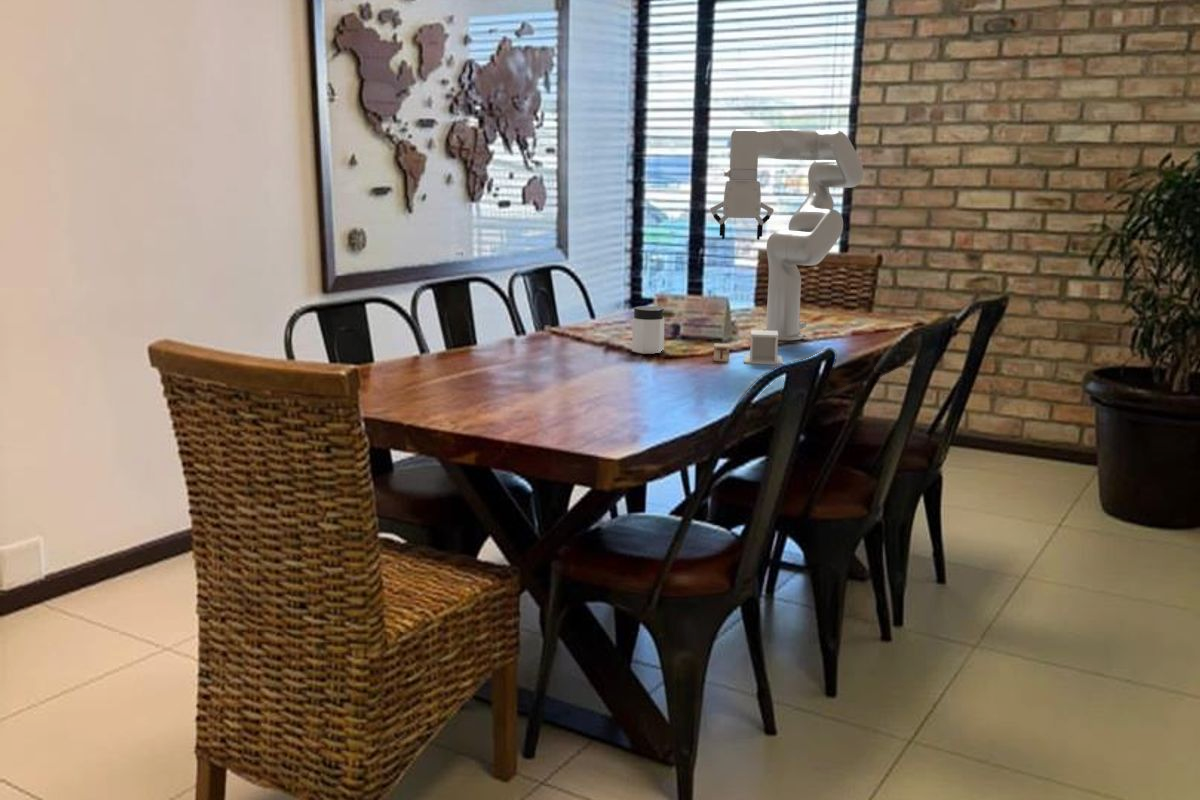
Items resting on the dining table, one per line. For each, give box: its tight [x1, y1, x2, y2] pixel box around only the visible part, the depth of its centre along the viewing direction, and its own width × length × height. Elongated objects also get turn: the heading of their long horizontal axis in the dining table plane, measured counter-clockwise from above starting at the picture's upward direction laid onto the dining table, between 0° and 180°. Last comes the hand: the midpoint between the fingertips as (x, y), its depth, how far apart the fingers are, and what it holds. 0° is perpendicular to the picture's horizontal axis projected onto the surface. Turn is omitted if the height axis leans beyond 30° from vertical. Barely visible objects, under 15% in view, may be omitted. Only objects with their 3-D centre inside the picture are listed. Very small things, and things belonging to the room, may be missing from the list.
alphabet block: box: [749, 329, 779, 362], centre depth 271 cm, size 7×7×7 cm
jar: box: [631, 305, 666, 355], centre depth 282 cm, size 9×8×12 cm
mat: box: [743, 354, 784, 366], centre depth 272 cm, size 10×10×1 cm
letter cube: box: [713, 343, 730, 362], centre depth 273 cm, size 4×4×4 cm
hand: (740, 239), depth 285 cm, fingers open, 9 cm apart
